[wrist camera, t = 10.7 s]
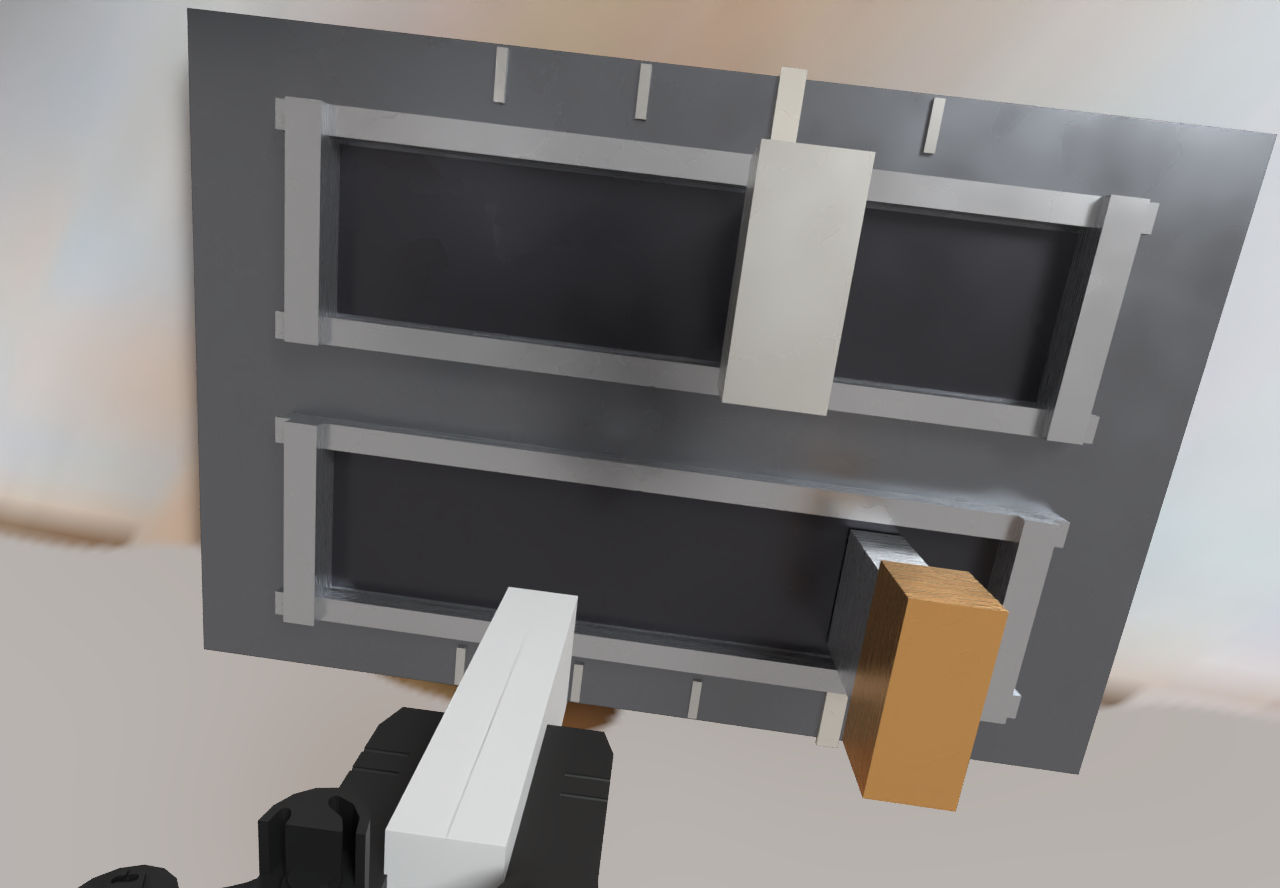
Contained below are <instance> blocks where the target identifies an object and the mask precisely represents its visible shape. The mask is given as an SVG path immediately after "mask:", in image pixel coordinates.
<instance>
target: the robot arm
mask: <svg viewBox="0 0 1280 888" xmlns="http://www.w3.org/2000/svg"><path fill="white" fill-rule="evenodd" d="M577 601H578V596H574V595H567V594H559V593H552V592H544V591H536V590H529V589H521V588H514V587H508V589H507V591H506V593H505V595H504V597H503V599H502V601H501V603H500V605H499V607H498V609H497V611H496V613H495V615H494V617H493V619H492V621H491V623H490V625H489V627H488V629H487V631H486V633H485V635H484V637H483V639H482V641H481V642H480V644H479V646H478V648H477V650H476V652H475V654H474V656H473V658H472V660H471V662H470V664H469V666H468V668H467V670H466V672H465V674H464V676H463V678H462V680H461V682H460V684H459V686H458V688H457V690H456V692H455V694H454V696H453V698H452V700H451V702H450V704H449V706H448V707H447V710H446V711H445V713H443V712H436V711H429V710H421V709H414V708H407V707H403V708H401V709H400V710H398V711H397V712H396V713H394V714H393V715H392V716H390V717H389V718H387V719H386V720H385V721H384V722H382V723H381V724H379V726H378V727H377V729H376V730H375V732H374V734H373V735H372V737H371V738H370V740H369V742H368V743H367V744H366V746H365V749H364V752H361V754H360V755H359V757H358V759H357V760H356V762H355V763H354V765H353V768H352V771H349V773H348V774H347V776H346V778H345V779H344V781H343V782H342V784H341V785H340V787H339V788H315V789H311V790H307V791H303V792H300V793H296V794H293V795H291V796H290V797H288V798H286V799H284V800H283V801H281V802H279V803H277V804H275V805H273V807H271V809H269V811H267V813H265V814H264V815H263V816H262V817H261V818H260V819H259V820H258V837H259V872H260V875H259V877H258V878H257V879H254V880H252V881H249V882H247V883H243V884H238V885H234V886H230V887H224V888H598V875H599V867H600V859H601V851H602V843H603V834H604V826H605V818H606V810H607V801H608V794H609V786H610V778H611V769H612V761H613V752H612V750H611V747H610V745H609V743H608V740H607V738H606V735H605V733H604V732H600V731H593V730H585V729H578V728H570V727H563V726H562V722H563V718H564V713H565V709H566V704H567V695H568V686H569V676H570V667H571V657H572V648H573V638H574V629H575V620H576V610H577ZM79 888H179V887H178V882H177V878H176V877H174V876H173V875H172V874H171V873H169V872H168V871H167V870H166V869H164V868H159V867H154V866H148V865H140V866H132V867H125V868H119V869H116V870H114V871H111V872H108V873H106V874H103V875H100V876H98V877H95V878H93V879H91V880H90V881H88V882H86V883H85V884H83V885H82V886H80V887H79Z"/></svg>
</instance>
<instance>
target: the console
mask: <svg viewBox="0 0 1280 888" xmlns="http://www.w3.org/2000/svg"><path fill="white" fill-rule="evenodd" d="M187 18H188V57H189V95H190V133H191V172H192V210H193V248H194V287H195V325H196V363H197V401H198V440H199V478H200V516H201V555H202V592H203V630H204V649H207V650H214V651H221V652H228V653H235V654H242V655H249V656H256V657H263V658H270V659H277V660H284V661H291V662H297V663H305V664H311V665H318V666H325V667H333V668H339V669H346V670H354V671H360V672H367V673H374V674H381V675H388V676H395V677H402V678H409V679H416V680H423V681H430V682H437V683H444V684H451V685H458V686H459V684H460V682H461V680H462V678H463V676H464V674H465V672H466V670H467V668H468V666H469V664H470V662H471V660H472V658H473V656H474V654H475V652H476V650H477V648H478V646H479V644H480V642H481V641H482V639H483V637H484V635H485V633H486V631H487V629H488V627H489V625H490V623H491V621H492V619H493V617H494V615H495V613H496V611H497V609H498V607H499V605H500V603H501V601H502V599H503V597H504V595H505V593H506V591H507V589H508V587H514V588H521V589H529V590H536V591H544V592H552V593H559V594H567V595H574V596H578V601H577V610H576V620H575V629H574V638H573V648H572V657H571V667H570V676H569V686H568V695H567V701H569V702H576V703H583V704H590V705H597V706H604V707H611V708H618V709H625V710H632V711H639V712H646V713H653V714H660V715H667V716H674V717H681V718H688V719H695V720H702V721H709V722H716V723H722V724H730V725H737V726H743V727H750V728H757V729H765V730H772V731H778V732H785V733H793V734H799V735H806V736H813V737H816V745H818V746H826V747H832V748H837V747H838V742H839V740H841V741H843V740H842V737H843V732H844V728H845V723H846V719H847V714H848V709H849V705H850V701H849V699H848V696H847V694H846V692H845V689H844V687H843V684H842V682H841V679H840V677H839V674H838V672H837V669H836V667H835V664H834V662H833V659H832V657H831V654H830V652H829V649H828V647H827V642H828V637H829V632H830V628H831V623H832V618H833V613H834V608H835V603H836V598H837V593H838V588H839V583H840V578H841V573H842V568H843V564H844V559H845V554H846V549H847V544H848V539H849V534H850V529H852V530H860V531H867V532H874V533H882V534H889V535H897V536H902V537H903V538H904V539H905V540H906V541H907V542H908V543H909V545H910V546H911V547H912V548H913V549H914V550H915V551H916V553H917V554H918V555H919V556H920V557H921V558H922V559H923V561H924V562H925V563H926V564H927V565H928V566H929V567H937V568H944V569H952V570H959V571H966V572H969V573H970V574H971V575H972V576H973V577H974V578H975V579H976V580H977V581H978V582H979V583H980V584H981V585H982V586H983V587H984V588H985V589H986V590H987V591H988V592H989V593H990V594H991V595H992V596H993V597H994V598H995V599H996V600H997V601H998V602H999V603H1000V604H1001V605H1002V606H1003V607H1004V608H1005V609H1006V610H1007V611H1008V612H1009V614H1008V617H1007V621H1006V625H1005V629H1004V632H1003V636H1002V640H1001V644H1000V647H999V651H998V655H997V659H996V662H995V666H994V670H993V674H992V677H991V681H990V685H989V689H988V692H987V696H986V700H985V704H984V707H983V711H982V715H981V719H980V722H979V726H978V730H977V734H976V737H975V741H974V745H973V748H972V752H971V756H970V759H973V760H980V761H987V762H994V763H1001V764H1008V765H1015V766H1022V767H1029V768H1036V769H1044V770H1050V771H1057V772H1064V773H1071V774H1079V771H1080V768H1081V764H1082V761H1083V758H1084V755H1085V751H1086V748H1087V745H1088V742H1089V739H1090V735H1091V732H1092V729H1093V726H1094V723H1095V719H1096V716H1097V713H1098V710H1099V707H1100V703H1101V700H1102V697H1103V694H1104V690H1105V687H1106V684H1107V681H1108V678H1109V674H1110V671H1111V668H1112V665H1113V661H1114V658H1115V655H1116V652H1117V649H1118V645H1119V642H1120V639H1121V636H1122V632H1123V629H1124V626H1125V623H1126V620H1127V616H1128V613H1129V610H1130V607H1131V603H1132V600H1133V597H1134V594H1135V591H1136V587H1137V584H1138V581H1139V578H1140V575H1141V571H1142V568H1143V565H1144V562H1145V558H1146V555H1147V552H1148V549H1149V546H1150V542H1151V539H1152V536H1153V533H1154V529H1155V526H1156V523H1157V520H1158V517H1159V513H1160V510H1161V507H1162V504H1163V500H1164V497H1165V494H1166V491H1167V488H1168V484H1169V481H1170V478H1171V475H1172V471H1173V468H1174V465H1175V462H1176V459H1177V455H1178V452H1179V449H1180V446H1181V443H1182V439H1183V436H1184V433H1185V430H1186V426H1187V423H1188V420H1189V417H1190V414H1191V410H1192V407H1193V404H1194V401H1195V397H1196V394H1197V391H1198V388H1199V385H1200V381H1201V378H1202V375H1203V372H1204V368H1205V365H1206V362H1207V359H1208V356H1209V352H1210V349H1211V346H1212V343H1213V340H1214V336H1215V333H1216V330H1217V327H1218V323H1219V320H1220V317H1221V314H1222V311H1223V307H1224V304H1225V301H1226V298H1227V294H1228V291H1229V288H1230V285H1231V282H1232V278H1233V275H1234V272H1235V269H1236V265H1237V262H1238V259H1239V256H1240V253H1241V249H1242V246H1243V243H1244V240H1245V236H1246V233H1247V230H1248V227H1249V224H1250V220H1251V217H1252V214H1253V211H1254V208H1255V204H1256V201H1257V198H1258V195H1259V191H1260V188H1261V185H1262V182H1263V179H1264V175H1265V172H1266V169H1267V166H1268V162H1269V159H1270V156H1271V153H1272V150H1273V146H1274V143H1275V140H1276V137H1277V134H1271V133H1262V132H1253V131H1245V130H1236V129H1228V128H1219V127H1210V126H1202V125H1193V124H1184V123H1176V122H1167V121H1158V120H1150V119H1141V118H1133V117H1124V116H1115V115H1107V114H1098V113H1089V112H1081V111H1072V110H1064V109H1055V108H1046V107H1038V106H1029V105H1020V104H1012V103H1003V102H994V101H986V100H977V99H969V98H960V97H951V96H943V95H934V94H925V93H917V92H908V91H900V90H891V89H882V88H874V87H865V86H856V85H848V84H839V83H830V82H822V81H813V80H806V77H807V71H808V70H805V69H796V68H788V67H781V72H780V77H779V76H770V75H761V74H753V73H744V72H736V71H727V70H718V69H710V68H701V67H692V66H684V65H675V64H666V63H658V62H649V61H641V60H632V59H623V58H615V57H606V56H597V55H589V54H580V53H572V52H563V51H554V50H546V49H537V48H528V47H520V46H511V45H503V44H494V43H485V42H477V41H468V40H459V39H451V38H442V37H433V36H425V35H416V34H408V33H399V32H390V31H382V30H373V29H364V28H356V27H347V26H339V25H330V24H321V23H313V22H304V21H295V20H287V19H278V18H269V17H261V16H252V15H244V14H235V13H226V12H218V11H209V10H200V9H192V8H187ZM761 139H770V140H778V141H786V142H795V143H803V144H812V145H820V146H829V147H837V148H845V149H854V150H862V151H871V152H876V153H875V158H874V164H873V169H872V174H871V180H870V185H869V190H868V196H867V201H866V207H865V212H864V217H863V223H862V228H861V233H860V239H859V244H858V249H857V255H856V260H855V265H854V271H853V276H852V281H851V287H850V292H849V297H848V303H847V308H846V313H845V319H844V324H843V329H842V335H841V340H840V345H839V351H838V356H837V361H836V367H835V372H834V377H833V383H832V388H831V393H830V399H829V404H828V409H827V415H826V416H823V415H816V414H808V413H800V412H793V411H785V410H777V409H769V408H762V407H754V406H746V405H739V404H731V403H723V402H722V401H721V398H720V396H719V393H718V390H717V382H718V375H719V368H720V361H721V355H722V348H723V341H724V334H725V328H726V321H727V314H728V308H729V301H730V294H731V287H732V281H733V274H734V267H735V260H736V254H737V247H738V240H739V234H740V227H741V220H742V213H743V207H744V200H745V193H746V186H747V180H748V173H749V166H750V159H751V157H752V155H753V153H754V152H755V150H756V148H757V146H758V144H759V143H760V141H761Z"/></svg>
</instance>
